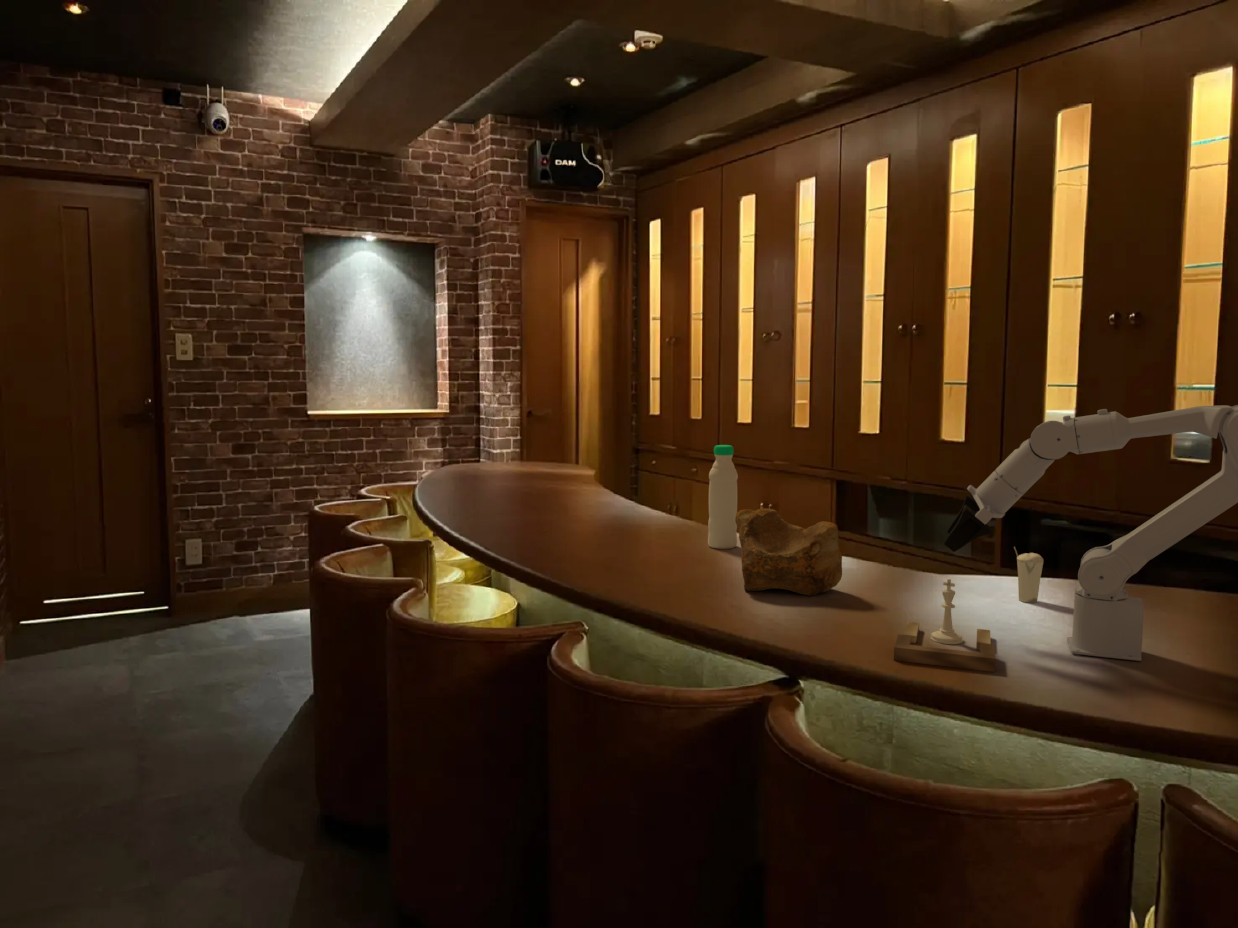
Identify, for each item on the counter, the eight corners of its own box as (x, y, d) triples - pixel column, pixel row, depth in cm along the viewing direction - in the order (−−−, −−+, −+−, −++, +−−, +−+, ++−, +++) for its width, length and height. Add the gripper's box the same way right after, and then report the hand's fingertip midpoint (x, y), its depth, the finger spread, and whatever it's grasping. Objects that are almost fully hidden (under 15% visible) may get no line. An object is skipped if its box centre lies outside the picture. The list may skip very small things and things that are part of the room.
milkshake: (1016, 595, 173) (1018, 544, 172) (1045, 600, 169) (1047, 548, 168) (1006, 599, 170) (1009, 548, 169) (1035, 605, 166) (1038, 552, 165)
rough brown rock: (702, 590, 180) (702, 518, 177) (747, 569, 193) (747, 502, 190) (805, 615, 165) (806, 536, 162) (847, 590, 178) (849, 517, 175)
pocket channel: (989, 637, 146) (990, 630, 146) (990, 651, 139) (990, 643, 139) (906, 628, 151) (906, 621, 151) (902, 641, 144) (902, 634, 144)
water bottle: (741, 545, 222) (743, 445, 219) (729, 550, 216) (730, 447, 213) (715, 542, 225) (717, 443, 223) (702, 547, 219) (704, 445, 217)
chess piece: (937, 633, 149) (939, 574, 147) (967, 639, 145) (969, 578, 144) (925, 640, 145) (928, 579, 144) (956, 646, 142) (959, 584, 141)
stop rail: (993, 657, 136) (994, 644, 136) (994, 672, 130) (995, 658, 129) (897, 646, 141) (898, 634, 141) (893, 660, 135) (894, 647, 135)
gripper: (990, 457, 151) (934, 515, 156) (988, 474, 138) (927, 536, 143) (1024, 485, 150) (967, 542, 155) (1025, 504, 137) (963, 566, 142)
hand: (950, 541), depth 149 cm, fingers open, 7 cm apart
